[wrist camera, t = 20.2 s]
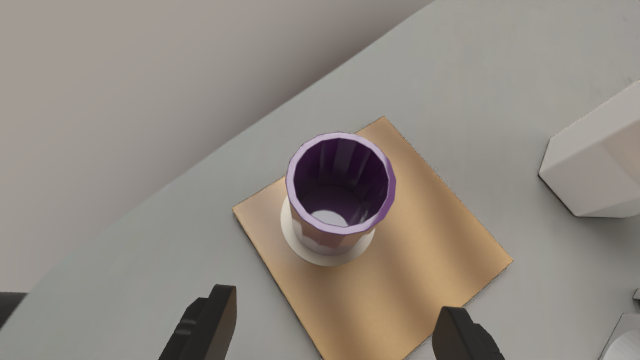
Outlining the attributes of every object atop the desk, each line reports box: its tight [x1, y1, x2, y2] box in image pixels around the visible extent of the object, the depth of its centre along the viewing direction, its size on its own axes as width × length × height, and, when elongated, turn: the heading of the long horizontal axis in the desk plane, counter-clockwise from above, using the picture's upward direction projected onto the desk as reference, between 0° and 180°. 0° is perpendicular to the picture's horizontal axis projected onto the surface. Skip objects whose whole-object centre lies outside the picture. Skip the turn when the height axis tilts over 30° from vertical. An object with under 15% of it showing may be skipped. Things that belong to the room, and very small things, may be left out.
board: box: [232, 116, 513, 360], centre depth 24 cm, size 16×16×1 cm
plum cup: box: [285, 132, 396, 256], centre depth 20 cm, size 6×6×8 cm
